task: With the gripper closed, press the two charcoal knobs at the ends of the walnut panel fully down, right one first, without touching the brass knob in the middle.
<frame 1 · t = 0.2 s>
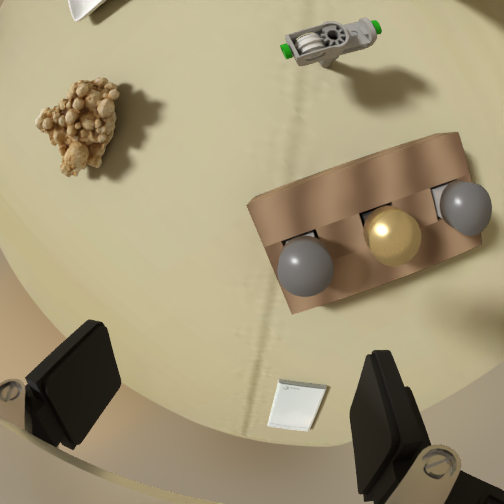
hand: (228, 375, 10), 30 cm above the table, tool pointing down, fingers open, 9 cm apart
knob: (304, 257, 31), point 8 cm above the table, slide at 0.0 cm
hard drive: (295, 403, 49), on the table
knob middle: (385, 228, 29), point 8 cm above the table, slide at 0.0 cm
mechanical component: (324, 62, 31), on the table
mineral formation: (98, 122, 38), on the table
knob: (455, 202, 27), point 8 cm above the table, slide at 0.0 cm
knob panel: (368, 213, 36), on the table
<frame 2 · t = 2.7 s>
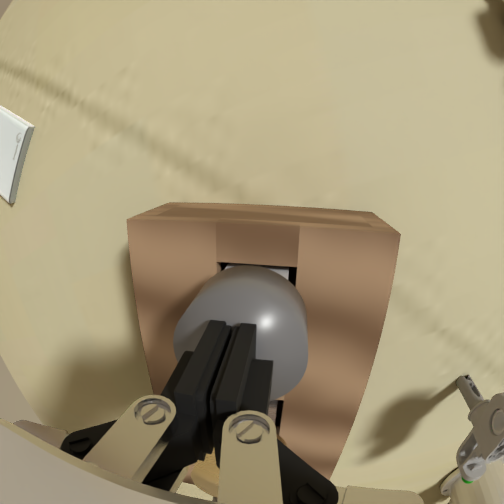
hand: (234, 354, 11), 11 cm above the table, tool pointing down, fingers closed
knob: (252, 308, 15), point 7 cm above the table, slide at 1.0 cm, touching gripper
hard drive: (1, 144, 22), on the table
knob middle: (247, 436, 16), point 8 cm above the table, slide at 0.0 cm
mechanical component: (462, 378, 22), on the table
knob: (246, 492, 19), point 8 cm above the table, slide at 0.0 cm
knob panel: (261, 364, 24), on the table
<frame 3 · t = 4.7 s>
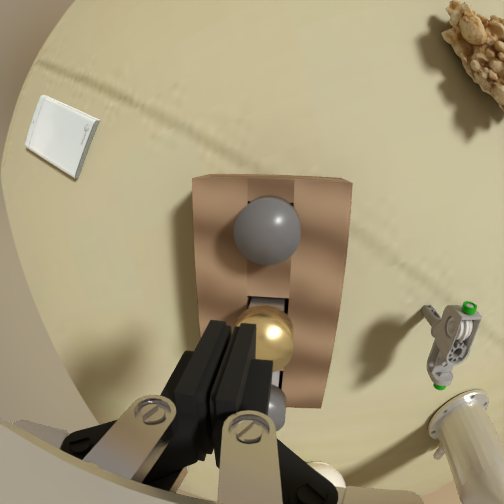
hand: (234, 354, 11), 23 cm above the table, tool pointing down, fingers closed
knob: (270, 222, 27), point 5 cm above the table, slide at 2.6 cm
hard drive: (63, 133, 33), on the table
knob middle: (265, 325, 27), point 8 cm above the table, slide at 0.0 cm
mechanical component: (426, 308, 33), on the table
mineral formation: (481, 65, 23), on the table
lidded bowl: (313, 469, 46), on the table
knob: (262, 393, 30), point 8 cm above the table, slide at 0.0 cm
knob panel: (271, 289, 35), on the table
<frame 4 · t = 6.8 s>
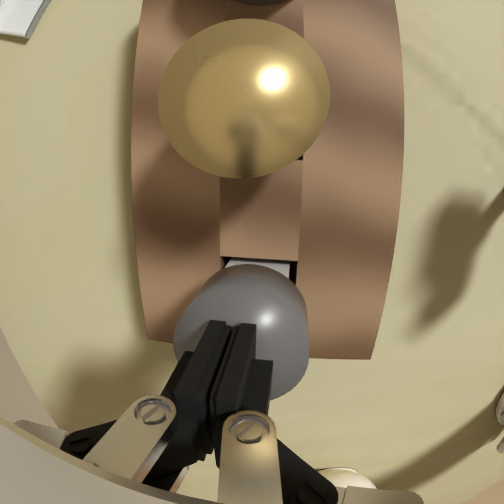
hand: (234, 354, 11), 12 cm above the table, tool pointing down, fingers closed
hard drive: (26, 6, 17), on the table
knob middle: (256, 112, 12), point 8 cm above the table, slide at 0.0 cm
lidded bowl: (332, 478, 30), on the table
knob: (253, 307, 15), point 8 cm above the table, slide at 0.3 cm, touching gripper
knob panel: (271, 129, 19), on the table
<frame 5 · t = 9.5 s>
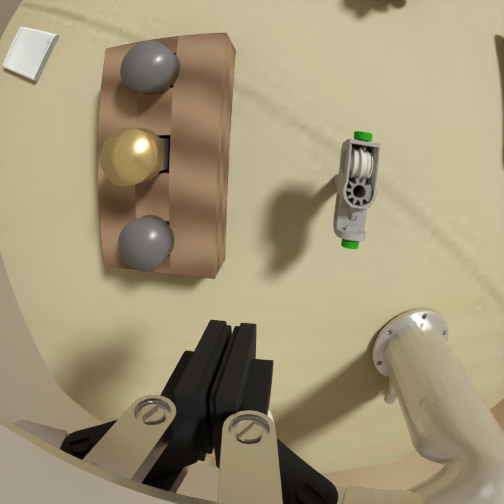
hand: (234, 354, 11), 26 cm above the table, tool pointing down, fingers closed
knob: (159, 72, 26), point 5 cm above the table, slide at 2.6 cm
hard drive: (32, 52, 31), on the table
knob middle: (144, 154, 27), point 8 cm above the table, slide at 0.0 cm
mechanical component: (339, 180, 33), on the table
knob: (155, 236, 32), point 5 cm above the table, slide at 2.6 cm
knob panel: (172, 152, 34), on the table
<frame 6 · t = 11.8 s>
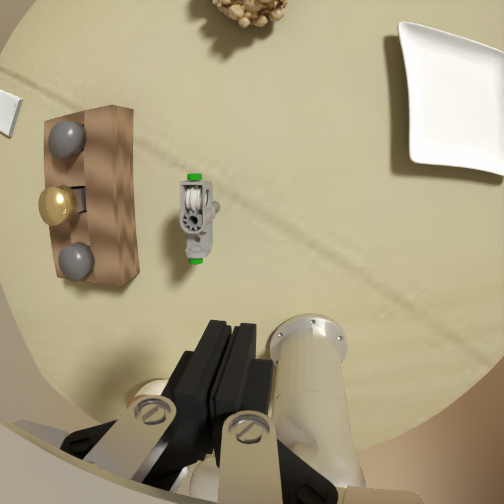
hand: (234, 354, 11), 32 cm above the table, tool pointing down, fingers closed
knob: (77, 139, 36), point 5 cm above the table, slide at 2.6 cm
salad plate: (458, 101, 33), on the table
hard drive: (6, 111, 42), on the table
knob middle: (68, 201, 37), point 8 cm above the table, slide at 0.0 cm
mechanical component: (215, 206, 42), on the table
mineral formation: (251, 0, 32), on the table
lidded bowl: (173, 391, 55), on the table
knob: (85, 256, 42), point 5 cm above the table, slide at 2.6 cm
knob panel: (98, 193, 44), on the table
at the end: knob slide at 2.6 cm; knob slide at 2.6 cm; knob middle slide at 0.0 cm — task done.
